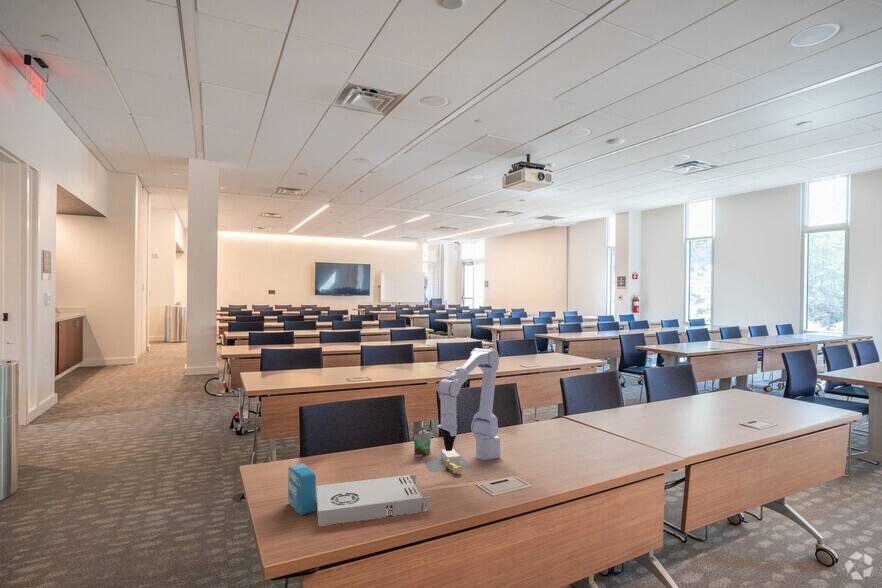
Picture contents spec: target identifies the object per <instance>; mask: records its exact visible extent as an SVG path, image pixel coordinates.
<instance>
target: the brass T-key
mask: <svg viewBox="0 0 882 588" xmlns="http://www.w3.org/2000/svg"><path fill="white" fill-rule="evenodd" d="M445 468H446V469H450V470H449V471H452V473H453V474H458V473H462V472H463V471H462V469H463V468H462V466H460V465H459V466H457V465H456V464H454V463H452V462H451V460H450V459H446V460H445Z"/></svg>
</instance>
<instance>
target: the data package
mask: <svg viewBox="0 0 882 588" xmlns="http://www.w3.org/2000/svg"><path fill="white" fill-rule="evenodd" d="M287 470H288V471H287V472H288V473H287V475H288V476H287V477H288V478H287V479H288V481H287V482H288V486H287V488H288V490H287V493H288V494H287V499H288V504H289V503H290V504H291V505H292V506H293V507H294V508H293V507H292V506H291V505H290V504H289V505H290V506H291V507H292V508H293V510H295V509H296V510H295V512H297V514H298V515H299V514H300V515H299V516H304V515H308V514H310V513H314V512H316V511H317V504H316V486H317V477H316V473H315V472H314V470H312V469H311V468H310V467H308V466H307V465H306V464H305V463H299V464H294V465H290V466H289V467H288V469H287Z"/></svg>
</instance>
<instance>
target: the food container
mask: <svg viewBox="0 0 882 588" xmlns="http://www.w3.org/2000/svg"><path fill="white" fill-rule="evenodd" d="M432 437H433V432H432V429H430V428H429V427H424V426H420V430H418V431H417V432H416V433H415V434H413V444H414V445H413V446H414V447H413V449H414V457H416V458H417V457H426V456H428V455H430V453H431V440H432V439H431V438H432Z"/></svg>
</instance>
